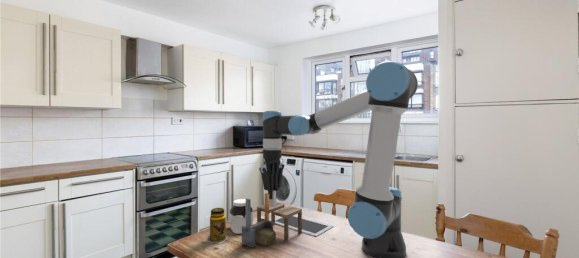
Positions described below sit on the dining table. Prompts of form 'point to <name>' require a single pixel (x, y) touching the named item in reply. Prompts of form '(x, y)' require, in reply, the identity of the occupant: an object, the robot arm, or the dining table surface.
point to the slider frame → (249, 229)
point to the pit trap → (305, 225)
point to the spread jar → (238, 215)
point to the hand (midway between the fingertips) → (272, 206)
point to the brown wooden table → (284, 213)
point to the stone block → (265, 236)
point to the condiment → (217, 226)
